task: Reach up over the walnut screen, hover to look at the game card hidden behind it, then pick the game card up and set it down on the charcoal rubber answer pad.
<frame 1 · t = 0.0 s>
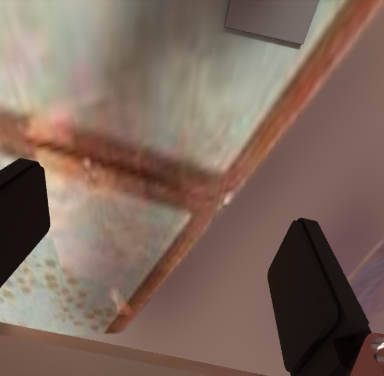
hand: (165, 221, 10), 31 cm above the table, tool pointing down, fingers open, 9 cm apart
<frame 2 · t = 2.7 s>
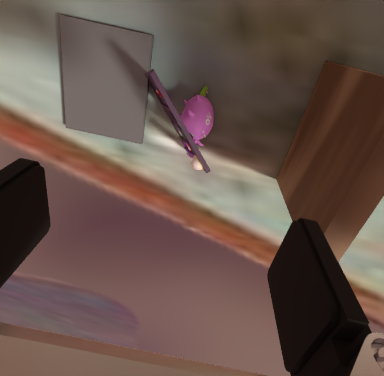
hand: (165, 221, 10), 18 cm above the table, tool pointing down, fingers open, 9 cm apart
screen: (308, 129, 26), on the table
answer pad: (107, 85, 26), on the table
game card: (190, 105, 26), on the table
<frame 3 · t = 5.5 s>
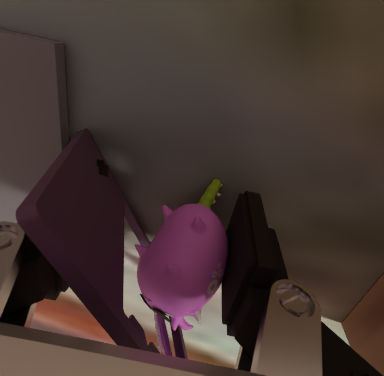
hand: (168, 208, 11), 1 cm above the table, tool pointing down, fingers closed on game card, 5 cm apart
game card: (176, 204, 12), on the table, touching gripper
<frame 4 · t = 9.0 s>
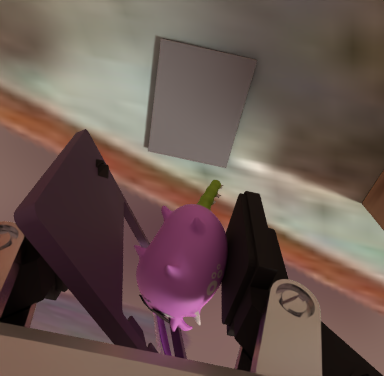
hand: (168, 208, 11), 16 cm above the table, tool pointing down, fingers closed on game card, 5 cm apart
answer pad: (197, 108, 25), on the table
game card: (175, 205, 12), point 15 cm above the table, touching gripper
when the fingers open (3 cm above the table, at t = 12.1 s): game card drops 1 cm, resting on answer pad.
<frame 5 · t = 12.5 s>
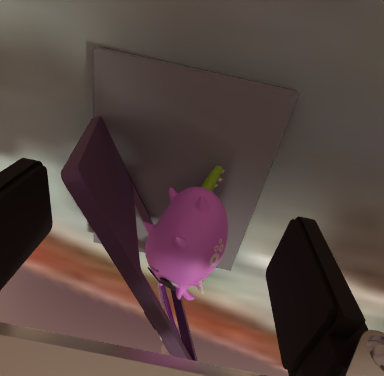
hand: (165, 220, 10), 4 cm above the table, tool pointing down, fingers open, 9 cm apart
answer pad: (178, 176, 13), on the table
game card: (180, 189, 13), resting on answer pad
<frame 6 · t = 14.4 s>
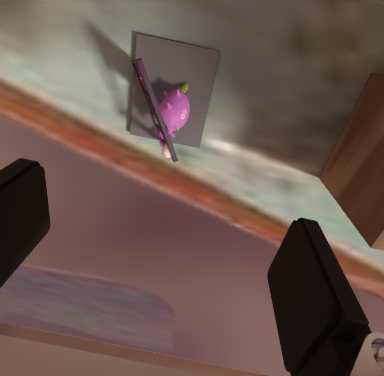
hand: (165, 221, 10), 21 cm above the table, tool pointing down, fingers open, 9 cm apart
screen: (351, 132, 29), on the table
answer pad: (171, 95, 28), on the table
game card: (169, 98, 28), resting on answer pad
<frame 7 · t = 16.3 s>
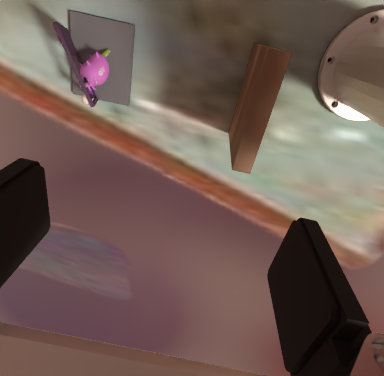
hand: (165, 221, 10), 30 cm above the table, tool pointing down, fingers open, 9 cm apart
screen: (247, 93, 36), on the table
answer pad: (102, 61, 36), on the table
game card: (97, 61, 35), resting on answer pad
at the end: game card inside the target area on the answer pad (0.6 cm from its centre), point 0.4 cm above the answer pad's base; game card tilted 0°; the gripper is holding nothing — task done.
